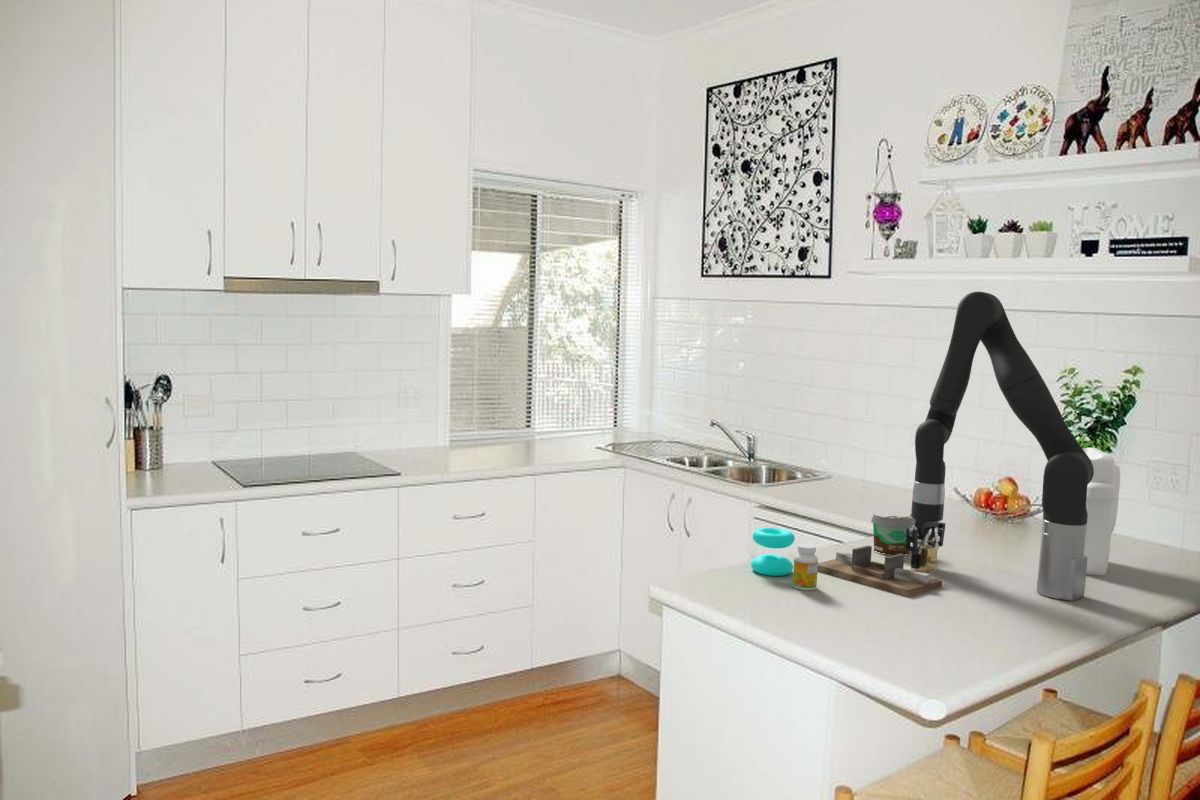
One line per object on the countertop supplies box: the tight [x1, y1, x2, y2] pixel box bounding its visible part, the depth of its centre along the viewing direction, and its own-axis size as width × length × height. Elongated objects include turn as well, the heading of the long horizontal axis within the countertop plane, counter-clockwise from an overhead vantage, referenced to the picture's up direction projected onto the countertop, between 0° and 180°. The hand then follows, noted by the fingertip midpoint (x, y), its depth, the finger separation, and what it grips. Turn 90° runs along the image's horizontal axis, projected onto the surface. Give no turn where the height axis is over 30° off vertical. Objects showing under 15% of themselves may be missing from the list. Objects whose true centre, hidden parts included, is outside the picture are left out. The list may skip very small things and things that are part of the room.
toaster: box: [1081, 446, 1121, 576], centre depth 256 cm, size 27×11×30 cm, turn 168°
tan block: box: [910, 543, 939, 574], centre depth 248 cm, size 6×4×6 cm
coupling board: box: [817, 545, 943, 598], centre depth 238 cm, size 26×14×6 cm, turn 40°
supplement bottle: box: [792, 543, 819, 591], centre depth 228 cm, size 5×5×10 cm
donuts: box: [750, 527, 796, 577], centre depth 240 cm, size 10×10×10 cm
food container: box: [870, 513, 915, 556], centre depth 262 cm, size 12×6×10 cm, turn 105°
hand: (923, 565), depth 248 cm, fingers open, 6 cm apart
